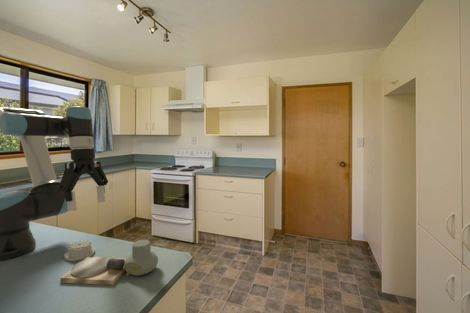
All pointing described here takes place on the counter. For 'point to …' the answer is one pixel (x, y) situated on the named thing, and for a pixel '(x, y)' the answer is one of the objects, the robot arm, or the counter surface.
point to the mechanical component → (79, 251)
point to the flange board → (95, 271)
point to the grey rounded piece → (141, 259)
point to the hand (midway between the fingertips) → (88, 206)
